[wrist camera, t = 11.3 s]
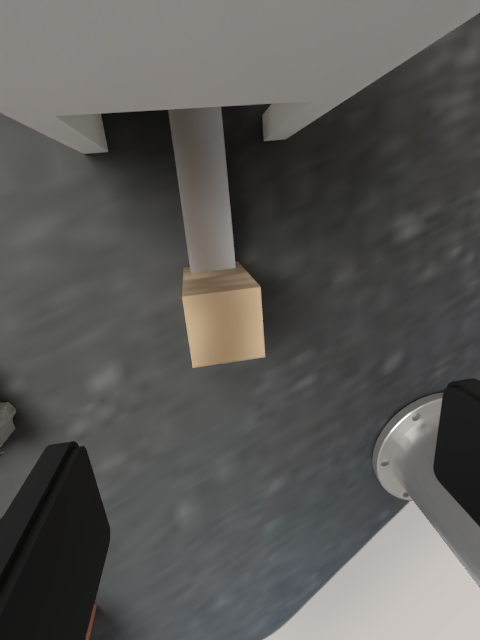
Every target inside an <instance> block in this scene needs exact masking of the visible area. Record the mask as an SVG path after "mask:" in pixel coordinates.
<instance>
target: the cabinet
mask: <svg viewBox="0 0 480 640" xmlns="http://www.w3.org/2000/svg"><path fill="white" fill-rule="evenodd" d="M478 13H480V0H0V113H2V114H4V115H6V116H8V117H10V118H12V119H14V120H16V121H18V122H20V123H22V124H24V125H26V126H28V127H30V128H32V129H34V130H36V131H38V132H40V133H42V134H44V135H46V136H48V137H51V138H53V139H55V140H57V141H59V142H61V143H63V144H65V145H67V146H69V147H71V148H73V149H75V150H77V151H79V152H81V153H83V154H89V153H103V152H108V147H107V142H106V137H105V132H104V127H103V122H102V117H101V113H119V112H136V111H153V110H170V109H188V108H205V107H222V106H239V105H257V104H271V105H270V107H269V108H268V109H267V110H266V111H265V112H264V114H263V115H262V120H263V139H264V141H272V140H286V139H287V138H289V137H290V136H292V135H293V134H295V133H296V132H298V131H299V130H301V129H302V128H304V127H305V126H307V125H308V124H310V123H312V122H313V121H315V120H316V119H318V118H319V117H321V116H322V115H324V114H325V113H327V112H328V111H330V110H331V109H333V108H334V107H336V106H338V105H339V104H341V103H342V102H344V101H345V100H347V99H348V98H350V97H351V96H353V95H354V94H356V93H357V92H359V91H360V90H362V89H363V88H365V87H367V86H368V85H370V84H371V83H373V82H374V81H376V80H377V79H379V78H380V77H382V76H383V75H385V74H386V73H388V72H389V71H391V70H393V69H394V68H396V67H397V66H399V65H400V64H402V63H403V62H405V61H406V60H408V59H409V58H411V57H412V56H414V55H415V54H417V53H419V52H420V51H422V50H423V49H425V48H426V47H428V46H429V45H431V44H432V43H434V42H435V41H437V40H438V39H440V38H441V37H443V36H445V35H446V34H448V33H449V32H451V31H452V30H454V29H455V28H457V27H458V26H460V25H461V24H463V23H464V22H466V21H467V20H469V19H471V18H472V17H474V16H475V15H477V14H478Z"/></svg>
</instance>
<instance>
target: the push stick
mask: <svg viewBox="0 0 480 640" xmlns="http://www.w3.org/2000/svg"><path fill="white" fill-rule="evenodd" d="M168 113H169V120H170V127H171V134H172V141H173V149H174V156H175V163H176V170H177V177H178V184H179V192H180V199H181V206H182V213H183V220H184V227H185V235H186V242H187V249H188V256H189V263H190V267H184V270H183V288H182V300H183V306H184V313H185V319H186V326H187V333H188V339H189V346H190V352H191V359H192V365H193V368H195V367H201V366H208V365H215V364H222V363H228V362H235V361H242V360H249V359H256V358H262V357H265V346H264V330H263V315H262V300H261V287H260V286H259V285H258V283H257V282H256V281H255V280H254V279H253V278H252V277H251V276H250V274H249V273H248V272H247V271H246V270H245V269H244V268H243V267H242V265H241V264H240V263H239V262H238V261H237V262H235V254H234V243H233V232H232V221H231V210H230V199H229V188H228V177H227V166H226V154H225V143H224V132H223V121H222V110H221V107H205V108H188V109H170V110H168Z"/></svg>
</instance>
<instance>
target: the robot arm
mask: <svg viewBox="0 0 480 640" xmlns="http://www.w3.org/2000/svg"><path fill="white" fill-rule="evenodd" d="M372 462H373V470H374V472H375V475H376V477H377V479H378V480H379V482H380V483H381V485H382V486H383V487H384V488H385V489H386V490H387V491H388V492H389V493H390V494H392V495H393V496H395V497H397V498H400V499H403V500H411V501H414V502H415V503H416V505H417V506H418V507H419V508H420V510H421V511H422V513H423V514H424V515H425V516H426V518H427V519H428V520H429V522H430V523H431V524H432V526H433V527H434V528H435V529H436V531H437V532H438V533H439V535H440V536H441V537H442V539H443V540H444V541H445V543H446V544H447V545H448V546H449V548H450V549H451V550H452V552H453V553H454V554H455V556H456V557H457V558H458V559H459V561H460V562H461V563H462V565H463V566H464V567H465V569H466V570H467V571H468V573H469V574H470V575H471V577H472V578H473V579H474V580H475V582H476V583H477V584H478V586H479V587H480V381H479V380H477V379H466V380H459V381H453V382H451V383H449V385H448V387H447V388H446V389H445V390H444V392H443V393H437V394H432V395H429V396H426V397H423V398H420V399H418V400H416V401H415V402H413V403H411V404H409V405H408V406H406V407H405V408H403V409H402V410H401V411H399V412H398V413H397V414H396V415H395V416H394V417H393V418H392V419H391V420H390V421H389V422H388V423H387V425H386V426H385V427H384V429H383V430H382V432H381V434H380V435H379V437H378V439H377V441H376V444H375V447H374V450H373V458H372ZM109 542H110V527H109V523H108V520H107V516H106V513H105V510H104V506H103V503H102V500H101V497H100V493H99V490H98V487H97V483H96V480H95V477H94V473H93V470H92V467H91V463H90V460H89V457H88V453H87V450H86V448H85V447H84V446H80V447H79V446H78V444H77V443H76V442H74V441H72V442H66V443H59V444H53V445H49V446H47V447H46V449H45V450H44V452H43V453H42V455H41V456H40V458H39V460H38V461H37V463H36V464H35V466H34V468H33V469H32V471H31V473H30V474H29V476H28V477H27V479H26V481H25V482H24V484H23V485H22V487H21V489H20V490H19V492H18V494H17V495H16V497H15V498H14V500H13V502H12V503H11V505H10V506H9V508H8V510H7V511H6V513H5V515H4V516H3V517H2V518H1V520H0V640H85V638H86V634H87V631H88V627H89V623H90V619H91V615H92V611H93V607H94V603H95V599H96V595H97V591H98V587H99V583H100V579H101V575H102V571H103V567H104V563H105V559H106V555H107V551H108V547H109Z"/></svg>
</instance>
